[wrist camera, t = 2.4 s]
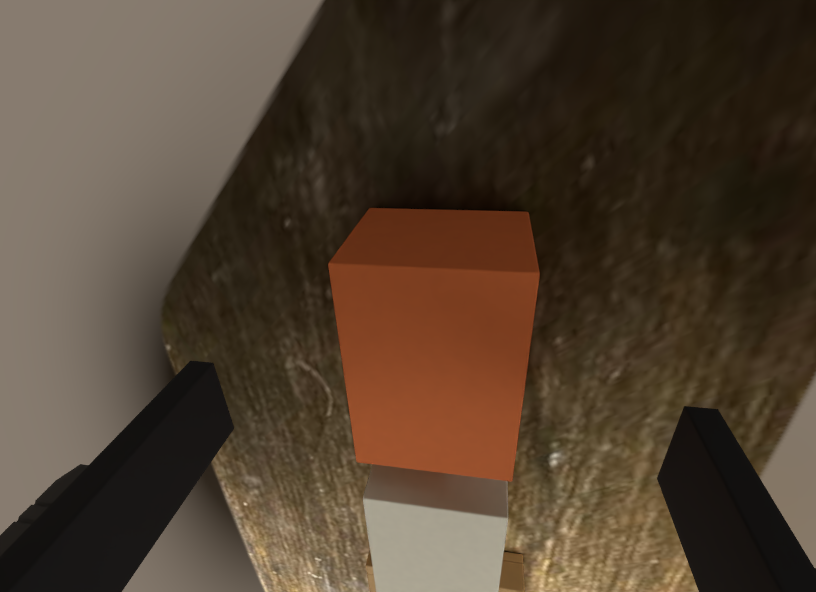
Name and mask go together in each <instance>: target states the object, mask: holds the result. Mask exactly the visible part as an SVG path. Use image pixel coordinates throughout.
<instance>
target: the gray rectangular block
mask: <svg viewBox="0 0 816 592" xmlns="http://www.w3.org/2000/svg"><path fill="white" fill-rule="evenodd" d="M363 503H364V510H365V517H366V524H367V531H368V538H369V545H370V552H371V559H372V566H373V573H374V580H375V587H376V592H498V591H499V584H500V576H501V569H502V562H503V554H504V547H505V539H506V532H507V524H508V484H507V481H502V480H494V479H487V478H479V477H471V476H463V475H455V474H447V473H439V472H431V471H423V470H415V469H407V468H399V467H391V466H383V465H375V464H372V468H371V471H370V475H369V478H368V482H367V485H366V488H365V492H364V495H363Z"/></svg>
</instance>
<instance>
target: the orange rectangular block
mask: <svg viewBox="0 0 816 592" xmlns="http://www.w3.org/2000/svg"><path fill="white" fill-rule="evenodd" d="M328 267H329V274H330V281H331V288H332V295H333V302H334V309H335V316H336V323H337V329H338V336H339V343H340V350H341V357H342V364H343V371H344V378H345V385H346V392H347V399H348V406H349V413H350V419H351V426H352V433H353V440H354V447H355V454H356V461H357V462H359V463H367V464H375V465H383V466H391V467H399V468H407V469H415V470H423V471H431V472H439V473H447V474H455V475H463V476H471V477H479V478H487V479H494V480H502V481H512V480H513V472H514V465H515V457H516V450H517V442H518V435H519V427H520V420H521V412H522V405H523V397H524V390H525V382H526V375H527V367H528V360H529V352H530V345H531V337H532V329H533V322H534V314H535V307H536V299H537V292H538V284H539V277H540V273H539V267H538V262H537V256H536V251H535V245H534V240H533V234H532V229H531V223H530V218H529V213H528V212H521V211H478V210H436V209H394V208H369V209H368V211H367V212H366V213H365V215H364V216H363V217H362V219H361V220H360V221H359V223H358V224H357V225H356V227H355V228H354V229H353V231H352V232H351V233H350V235H349V236H348V237H347V239H346V240H345V241H344V243H343V244H342V246H341V247H340V248H339V250H338V251H337V252H336V254H335V255H334V256H333V258H332V259H331V260H330V262H329V263H328Z"/></svg>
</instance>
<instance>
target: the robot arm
mask: <svg viewBox="0 0 816 592" xmlns="http://www.w3.org/2000/svg"><path fill="white" fill-rule="evenodd" d="M233 429H234V426H233V423H232V420H231V417H230V413H229V410H228V407H227V404H226V401H225V398H224V395H223V392H222V389H221V386H220V382H219V379H218V376H217V373H216V370H215V367H214V364H213V363H209V362H198V361H190V362H189V363H188V364H187V365H186V366H185V367H184V368H183V369H182V370H181V371H180V372H179V373H178V374H177V375H176V376H175V377H174V378H173V379H172V380H171V381H170V382H169V383H168V385H167V386H166V387H165V388H164V389H163V390H162V391H161V392H160V393H159V394H158V395H157V396H156V397H155V398H154V399H153V400H152V401H151V402H150V403H149V404H148V405H147V406H146V407H145V408H144V409H143V410H142V411H141V412H140V413H139V414H138V415H137V416H136V417H135V418H134V419H133V420H132V421H131V423H130V424H129V425H128V426H127V427H126V428H125V429H124V430H123V431H122V432H121V433H120V434H119V435H118V436H117V437H116V438H115V439H114V440H113V441H112V442H111V443H110V444H109V445H108V446H107V447H106V448H105V449H104V450H103V451H102V452H101V453H100V454H99V455H98V456H97V457H96V458H95V459H94V461H93V462H92V463H91V464H90V465H82V464H80V465H79V466H77V467H76V468H74V469H73V470H71V471H70V472H68V473H67V474H65V475H64V476H62V477H61V478H59V479H58V480H56V481H55V482H54V483H53V484H52V485H51V486H50V487H49V488H48V489H47V490H46V491H45V492H44V493H43V494H42V495H41V496H40V497H39V498H38V499H37V500H36V502H35V504H34V505H31V506H30V507H29V508H28V509H27V510H26V511H25V512H23V513H22V515H20V516H19V519H18V521H17V522H13V523H12V524H11V525H10V526H9V527H8V528H7V529H6V530H5V531H4V532H3V533H2V534H1V535H0V592H122V590H123V589H124V587H125V586H126V585H127V583H128V582H129V580H130V579H131V577H132V576H133V574H134V573H135V571H136V570H137V569H138V567H139V565H140V564H141V563H142V561H143V560H144V558H145V557H146V556H147V554H148V553H149V551H150V550H151V548H152V547H153V545H154V544H155V542H156V541H157V540H158V538H159V537H160V535H161V534H162V532H163V531H164V529H165V528H166V526H167V525H168V523H169V522H170V521H171V519H172V518H173V516H174V515H175V513H176V512H177V511H178V509H179V508H180V506H181V505H182V503H183V502H184V500H185V499H186V497H187V496H188V495H189V493H190V492H191V490H192V489H193V487H194V486H195V484H196V483H197V481H198V480H199V479H200V477H201V476H202V474H203V473H204V471H205V470H206V468H207V467H208V465H209V464H210V463H211V461H212V460H213V458H214V457H215V455H216V454H217V452H218V451H219V449H220V448H221V447H222V445H223V444H224V442H225V441H226V439H227V438H228V436H229V435H230V433H231V432H232V431H233ZM657 479H658V482H659V485H660V487H661V490H662V493H663V496H664V498H665V501H666V504H667V506H668V509H669V512H670V514H671V517H672V520H673V523H674V525H675V528H676V531H677V533H678V536H679V539H680V541H681V544H682V547H683V549H684V552H685V555H686V558H687V560H688V563H689V566H690V568H691V571H692V574H693V576H694V579H695V582H696V585H697V587H698V590H699V592H816V568H814V567H813V565H812V564H811V562H810V560H809V559H808V557H807V555H806V554H805V552H804V550H803V549H802V547H801V545H800V544H799V542H798V540H797V539H796V537H795V536H794V534H793V532H792V531H791V529H790V527H789V526H788V524H787V522H786V521H785V519H784V518H783V516H782V514H781V513H780V511H779V509H778V508H777V506H776V504H775V503H774V501H773V499H772V498H771V496H770V494H769V493H768V491H767V489H766V488H765V486H764V485H763V483H762V481H761V480H760V478H759V476H758V475H757V473H756V471H755V470H754V468H753V466H752V465H751V463H750V462H749V460H748V458H747V457H746V455H745V453H744V452H743V450H742V448H741V447H740V445H739V443H738V442H737V440H736V439H735V437H734V435H733V434H732V432H731V430H730V429H729V427H728V425H727V424H726V422H725V420H724V419H723V417H722V416H721V414H720V412H719V411H718V409H708V408H698V407H687V406H684V409H683V411H682V414H681V416H680V419H679V422H678V424H677V427H676V430H675V432H674V435H673V438H672V440H671V443H670V446H669V448H668V451H667V454H666V456H665V459H664V461H663V464H662V467H661V469H660V472H659V475H658V477H657Z"/></svg>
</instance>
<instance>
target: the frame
mask: <svg viewBox="0 0 816 592" xmlns="http://www.w3.org/2000/svg"><path fill="white" fill-rule="evenodd" d="M366 570H367V577H368V583H369V589H370V592H376V587H375V580H374V573H373V566H372V559H371V552H370V551H369V555H368V559H367V563H366ZM498 592H525V589H524V569H523V555H522V554H515V553H509V552H504V554H503V562H502V569H501V576H500V584H499V591H498Z"/></svg>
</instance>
